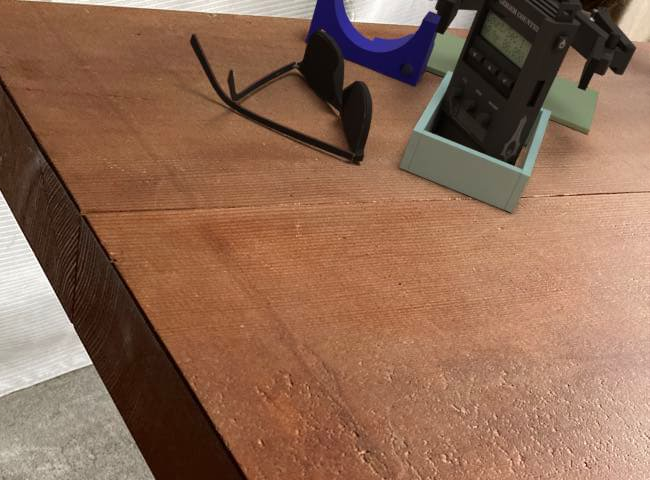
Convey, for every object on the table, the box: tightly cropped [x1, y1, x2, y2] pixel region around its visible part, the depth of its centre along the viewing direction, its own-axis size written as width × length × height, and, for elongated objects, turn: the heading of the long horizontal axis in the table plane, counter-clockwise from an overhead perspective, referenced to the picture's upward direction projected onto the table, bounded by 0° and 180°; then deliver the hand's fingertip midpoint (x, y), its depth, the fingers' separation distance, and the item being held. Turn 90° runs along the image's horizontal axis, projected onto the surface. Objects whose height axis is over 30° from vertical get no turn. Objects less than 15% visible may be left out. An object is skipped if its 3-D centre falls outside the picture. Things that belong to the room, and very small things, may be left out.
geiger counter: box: [430, 0, 580, 167], centre depth 85 cm, size 10×4×15 cm, turn 25°
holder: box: [398, 71, 551, 214], centre depth 89 cm, size 11×16×4 cm, turn 160°
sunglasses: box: [189, 30, 373, 162], centre depth 85 cm, size 17×14×5 cm
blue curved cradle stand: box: [305, 0, 441, 87], centre depth 98 cm, size 12×4×6 cm, turn 70°
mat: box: [425, 30, 600, 135], centre depth 106 cm, size 20×12×1 cm, turn 70°
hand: (516, 46), depth 87 cm, fingers open, 13 cm apart
